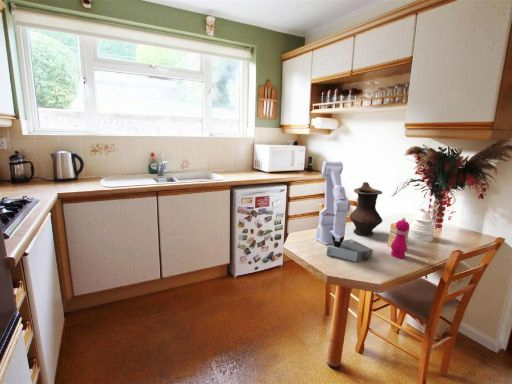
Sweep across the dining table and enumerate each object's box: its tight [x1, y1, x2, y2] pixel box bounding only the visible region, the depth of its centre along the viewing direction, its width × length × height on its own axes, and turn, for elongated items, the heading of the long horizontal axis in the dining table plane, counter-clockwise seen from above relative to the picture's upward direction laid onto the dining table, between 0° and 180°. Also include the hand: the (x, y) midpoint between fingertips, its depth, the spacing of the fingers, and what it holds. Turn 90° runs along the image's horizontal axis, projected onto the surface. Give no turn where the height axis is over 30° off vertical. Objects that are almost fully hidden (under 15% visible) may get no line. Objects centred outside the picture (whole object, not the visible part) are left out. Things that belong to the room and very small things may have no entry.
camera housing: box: [340, 239, 373, 262], centre depth 143 cm, size 15×10×5 cm, turn 27°
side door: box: [326, 244, 358, 262], centre depth 138 cm, size 14×2×4 cm, turn 62°
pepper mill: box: [390, 217, 410, 259], centre depth 142 cm, size 7×7×20 cm
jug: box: [348, 181, 383, 237], centre depth 172 cm, size 21×18×30 cm
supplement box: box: [387, 222, 410, 248], centre depth 153 cm, size 8×5×13 cm, turn 21°
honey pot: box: [408, 207, 435, 243], centre depth 170 cm, size 13×13×18 cm
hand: (336, 250), depth 143 cm, fingers closed
